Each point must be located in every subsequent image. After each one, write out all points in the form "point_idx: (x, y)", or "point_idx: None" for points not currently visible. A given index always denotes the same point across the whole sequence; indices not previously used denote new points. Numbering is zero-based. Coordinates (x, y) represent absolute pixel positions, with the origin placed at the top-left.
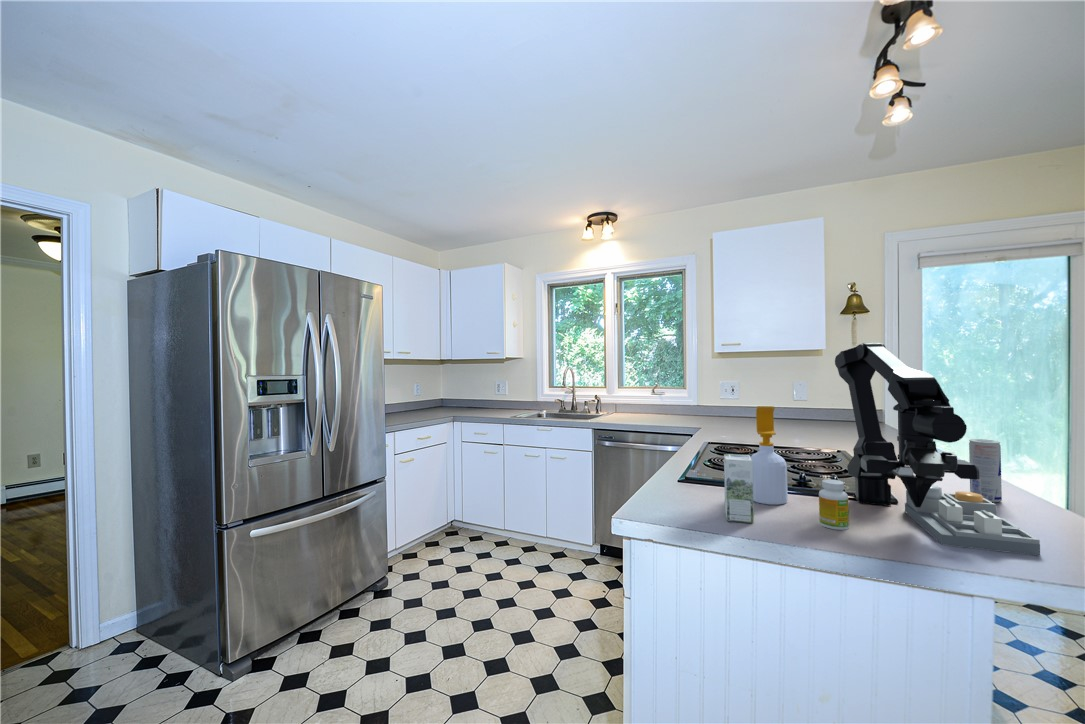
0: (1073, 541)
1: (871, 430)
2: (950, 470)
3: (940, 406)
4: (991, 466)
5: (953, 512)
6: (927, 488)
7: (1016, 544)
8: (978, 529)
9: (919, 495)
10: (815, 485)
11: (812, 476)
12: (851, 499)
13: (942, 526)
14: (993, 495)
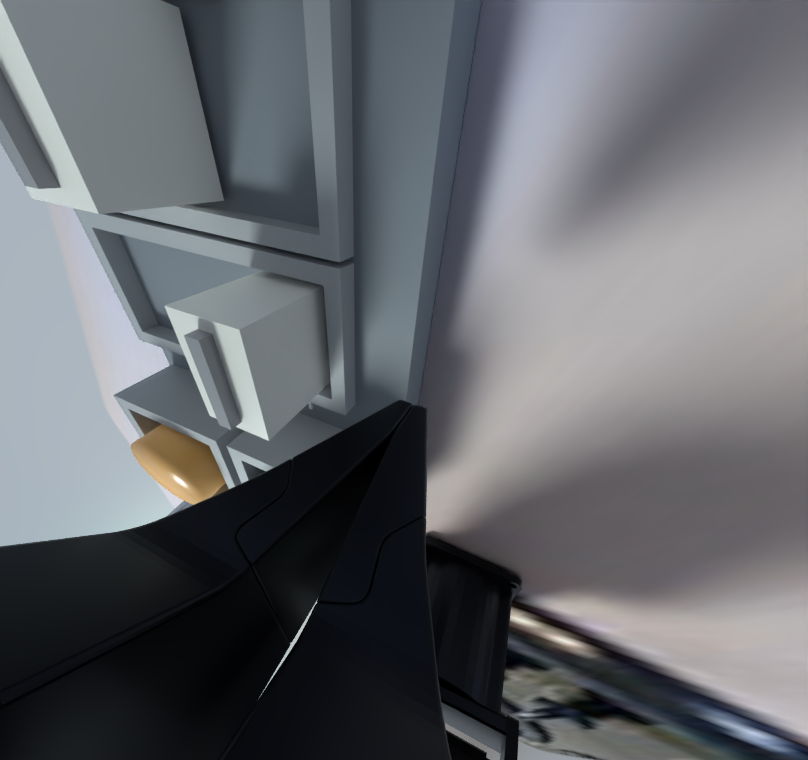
0: (66, 255)
1: None
2: None
3: None
4: None
5: (244, 303)
6: (235, 502)
7: None
8: (194, 129)
9: (360, 466)
10: (555, 685)
11: (508, 700)
12: (522, 603)
13: (365, 224)
14: (191, 504)
